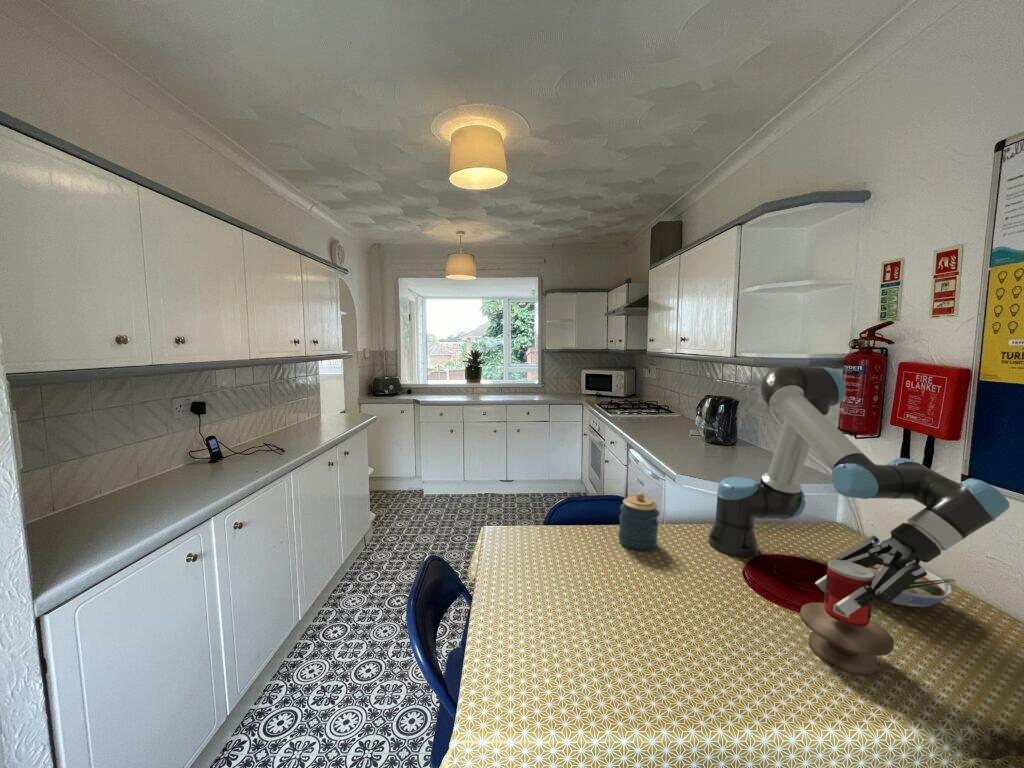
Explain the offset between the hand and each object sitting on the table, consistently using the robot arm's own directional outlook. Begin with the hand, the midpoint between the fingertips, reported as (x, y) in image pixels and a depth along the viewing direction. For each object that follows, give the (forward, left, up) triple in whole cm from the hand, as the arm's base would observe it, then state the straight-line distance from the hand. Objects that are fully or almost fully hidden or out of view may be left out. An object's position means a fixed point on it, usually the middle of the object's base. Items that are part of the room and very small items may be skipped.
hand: (830, 598), depth 91 cm
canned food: (+3, +2, -4) cm, 5 cm away
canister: (-52, +24, -13) cm, 59 cm away
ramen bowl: (+14, +40, -13) cm, 44 cm away
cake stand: (+3, +2, -13) cm, 13 cm away
